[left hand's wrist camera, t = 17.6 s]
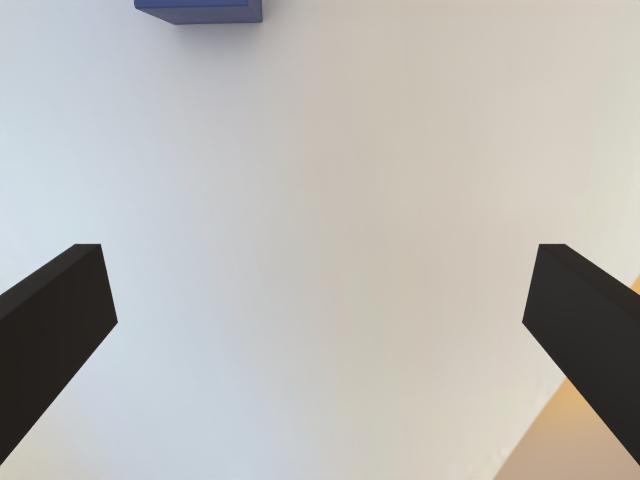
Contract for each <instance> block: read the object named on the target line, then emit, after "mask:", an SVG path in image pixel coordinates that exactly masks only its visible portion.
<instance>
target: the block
mask: <svg viewBox="0 0 640 480" xmlns="http://www.w3.org/2000/svg"><path fill="white" fill-rule="evenodd" d="M134 5H135V8H136V9H138V10H141V11H143V12H145V13H148V14H150V15H153V16H155V17H157V18H160V19H162V20H165V21H167V22H170V23H172V24H213V23H253V22H262V5H261V0H134Z"/></svg>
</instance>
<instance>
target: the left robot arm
mask: <svg viewBox="0 0 640 480" xmlns="http://www.w3.org/2000/svg"><path fill="white" fill-rule="evenodd" d="M117 323H118V321H117V316H116V311H115V307H114V302H113V298H112V293H111V289H110V284H109V280H108V275H107V270H106V266H105V261H104V257H103V252H102V248H101V244H74V245H73V246H71V247H70V248H69V249H67V250H66V251H64V252H63V253H61V254H60V255H58V256H57V257H55V258H54V259H52V260H51V261H50V262H48V263H47V264H45V265H44V266H42V267H41V268H39V269H38V270H36V271H35V272H34V273H32V274H31V275H29V276H28V277H26V278H25V279H23V280H22V281H20V282H19V283H17V284H16V285H15V286H13V287H12V288H10V289H9V290H7V291H6V292H4V293H3V294H1V295H0V465H1V464H2V463H3V462H4V461H5V459H6V458H7V457H8V456H9V454H10V453H11V452H12V451H13V450H14V448H15V447H16V446H17V445H18V444H19V442H20V441H21V440H22V439H23V437H24V436H25V435H26V434H27V433H28V431H29V430H30V429H31V428H32V426H33V425H34V424H35V423H36V422H37V420H38V419H39V418H40V417H41V415H42V414H43V413H44V412H45V411H46V409H47V408H48V407H49V406H50V405H51V403H52V402H53V401H54V400H55V398H56V397H57V396H58V395H59V394H60V392H61V391H62V390H63V389H64V387H65V386H66V385H67V384H68V383H69V381H70V380H71V379H72V378H73V376H74V375H75V374H76V373H77V372H78V370H79V369H80V368H81V367H82V366H83V364H84V363H85V362H86V361H87V359H88V358H89V357H90V356H91V355H92V353H93V352H94V351H95V350H96V348H97V347H98V346H99V345H100V344H101V342H102V341H103V340H104V339H105V338H106V336H107V335H108V334H109V333H110V331H111V330H112V329H113V328H114V327H115V325H116V324H117ZM522 323H523V324H524V325H525V327H526V328H527V329H528V330H529V331H530V333H531V334H532V335H533V336H534V338H535V339H536V340H537V341H538V342H539V344H540V345H541V346H542V347H543V348H544V350H545V351H546V352H547V353H548V355H549V356H550V357H551V358H552V359H553V361H554V362H555V363H556V364H557V366H558V367H559V368H560V369H561V370H562V372H563V373H564V374H565V375H566V376H567V378H568V379H569V380H570V381H571V383H572V384H573V385H574V386H575V387H576V389H577V390H578V391H579V392H580V394H581V395H582V396H583V397H584V398H585V400H586V401H587V402H588V403H589V404H590V406H591V407H592V408H593V409H594V411H595V412H596V413H597V414H598V415H599V417H600V418H601V419H602V420H603V422H604V423H605V424H606V425H607V426H608V428H609V429H610V430H611V431H612V432H613V434H614V435H615V436H616V437H617V439H618V440H619V441H620V442H621V444H622V445H623V446H624V447H625V448H626V450H627V451H628V452H629V453H630V454H631V456H632V457H633V458H634V459H635V460H636V462H637V463H638V464H639V465H640V295H639V294H637V293H636V292H634V291H633V290H631V289H630V288H628V287H627V286H625V285H624V284H623V283H621V282H620V281H618V280H617V279H615V278H614V277H612V276H611V275H609V274H608V273H606V272H605V271H604V270H602V269H601V268H599V267H598V266H596V265H595V264H593V263H592V262H590V261H589V260H588V259H586V258H585V257H583V256H582V255H580V254H579V253H577V252H576V251H574V250H573V249H571V248H570V247H569V246H567V245H566V244H539V248H538V252H537V257H536V261H535V266H534V270H533V275H532V280H531V284H530V289H529V293H528V298H527V302H526V307H525V311H524V316H523V321H522Z"/></svg>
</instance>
